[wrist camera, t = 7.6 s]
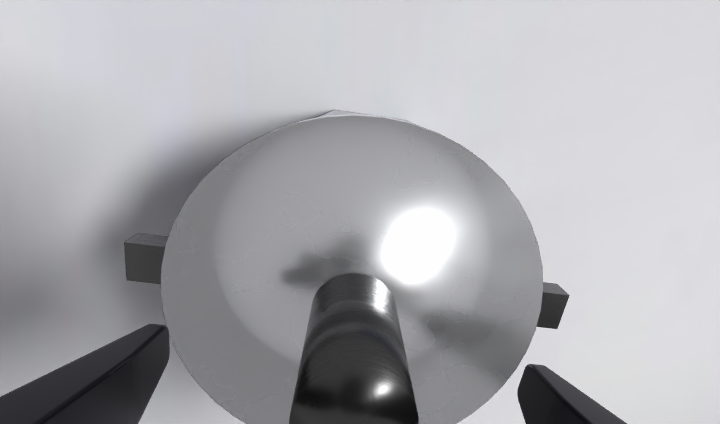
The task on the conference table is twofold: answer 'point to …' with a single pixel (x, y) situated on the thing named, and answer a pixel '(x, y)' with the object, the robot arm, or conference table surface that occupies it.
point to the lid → (351, 277)
